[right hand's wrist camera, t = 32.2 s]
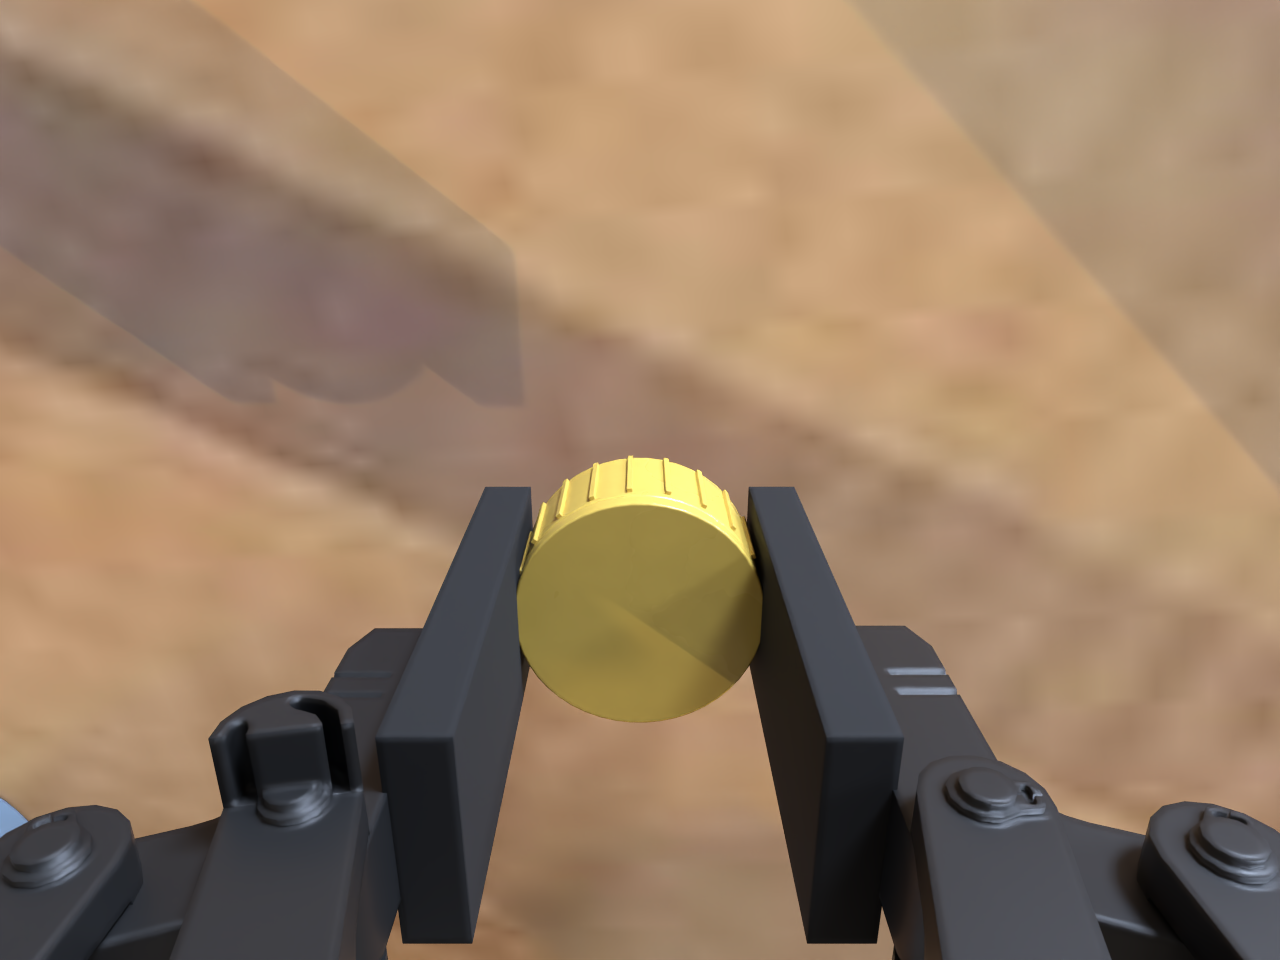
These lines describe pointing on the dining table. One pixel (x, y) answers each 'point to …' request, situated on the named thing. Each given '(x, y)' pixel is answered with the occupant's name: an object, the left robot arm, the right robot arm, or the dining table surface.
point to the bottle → (9, 818)
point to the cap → (639, 592)
